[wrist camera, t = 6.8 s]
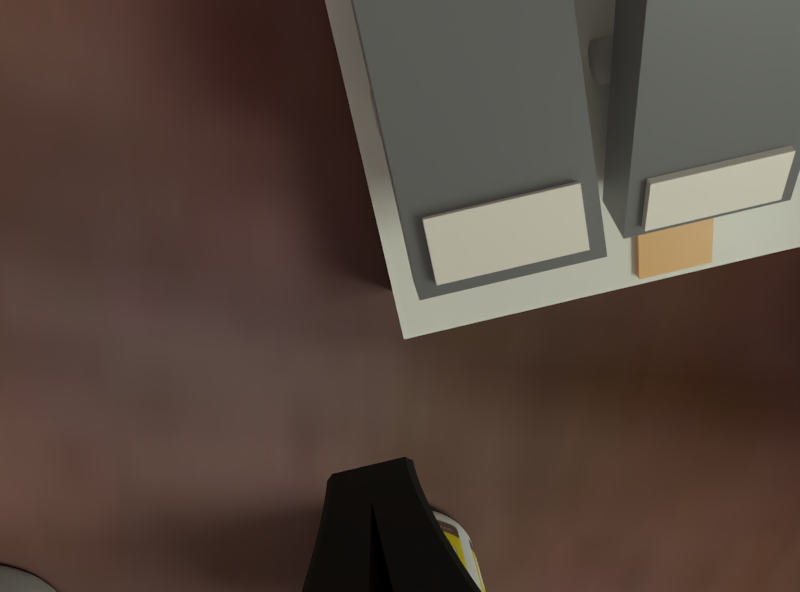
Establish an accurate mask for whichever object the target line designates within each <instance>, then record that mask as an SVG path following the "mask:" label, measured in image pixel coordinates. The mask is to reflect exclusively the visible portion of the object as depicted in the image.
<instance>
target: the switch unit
mask: <svg viewBox="0 0 800 592" xmlns="http://www.w3.org/2000/svg"><path fill="white" fill-rule="evenodd" d="M615 2H616V0H574V7H575V15H576V22H577V30H578V38H579V45H580V53H581V60H582V68H583V75H584V83H585V91H586V98H587V106H588V113H589V121H590V129H591V136H592V144H593V151H594V159H595V167H596V174H597V182H598V189H599V197H600V204H601V212H602V220H603V227H604V235H605V242H606V250H607V257H604V258H599V259H595V260H591V261H587V262H582V263H578V264H574V265H569V266H565V267H561V268H557V269H552V270H548V271H544V272H539V273H535V274H531V275H527V276H522V277H518V278H514V279H509V280H505V281H501V282H497V283H492V284H488V285H484V286H479V287H475V288H471V289H467V290H462V291H458V292H454V293H449V294H445V295H441V296H437V297H432V298H428V299H424V300H419V297H418V294H417V291H416V288H415V285H414V282H413V278H412V274H411V269H410V265H409V260H408V256H407V251H406V247H405V242H404V238H403V233H402V229H401V224H400V220H399V215H398V211H397V206H396V202H395V197H394V193H393V188H392V184H391V179H390V175H389V170H388V166H387V161H386V157H385V152H384V148H383V143H382V139H381V134H380V130H379V125H378V121H377V116H376V112H375V108H374V103H373V99H372V94H371V90H370V85H369V81H368V76H367V72H366V67H365V63H364V58H363V54H362V49H361V45H360V40H359V36H358V31H357V27H356V22H355V18H354V13H353V9H352V4H351V0H325V3H326V8H327V12H328V16H329V21H330V25H331V29H332V33H333V38H334V42H335V46H336V51H337V55H338V59H339V63H340V68H341V72H342V76H343V81H344V85H345V89H346V93H347V98H348V102H349V106H350V111H351V115H352V119H353V123H354V128H355V132H356V136H357V140H358V145H359V149H360V153H361V158H362V162H363V166H364V170H365V175H366V179H367V183H368V188H369V192H370V196H371V200H372V205H373V209H374V213H375V218H376V222H377V226H378V230H379V235H380V239H381V243H382V248H383V252H384V256H385V260H386V265H387V269H388V273H389V278H390V282H391V286H392V290H393V295H394V299H395V303H396V308H397V312H398V316H399V320H400V325H401V329H402V333H403V338H404V339H407V338H412V337H416V336H420V335H425V334H429V333H433V332H437V331H442V330H446V329H450V328H455V327H459V326H463V325H467V324H472V323H476V322H480V321H484V320H489V319H493V318H497V317H502V316H506V315H510V314H514V313H519V312H523V311H527V310H531V309H536V308H540V307H544V306H549V305H553V304H557V303H561V302H566V301H570V300H574V299H579V298H583V297H587V296H591V295H596V294H600V293H604V292H608V291H613V290H617V289H621V288H626V287H630V286H634V285H638V284H643V283H647V282H651V281H655V280H660V279H664V278H668V277H673V276H677V275H681V274H685V273H690V272H694V271H698V270H703V269H707V268H711V267H715V266H720V265H724V264H728V263H732V262H737V261H741V260H745V259H750V258H754V257H758V256H762V255H767V254H771V253H775V252H779V251H784V250H788V249H792V248H797V247H800V171H799V174H798V177H797V181H796V184H795V187H794V190H793V194H792V197H791V200H788V201H784V202H780V203H775V204H771V205H767V206H763V207H758V208H754V209H750V210H745V211H741V212H737V213H733V214H728V215H724V216H720V217H715V218H711V219H707V220H703V221H698V222H694V223H690V224H685V225H681V226H677V227H673V228H668V229H664V230H660V231H655V232H651V233H647V234H643V235H638V236H634V237H630V238H625V239H623V237H622V235H621V233H620V232H619V230H618V228H617V226H616V224H615V223H614V221H613V219H612V217H611V215H610V214H609V212H608V210H607V208H606V206H605V205H604V203H603V201H602V198H603V183H604V168H605V153H606V138H607V123H608V108H609V93H610V78H611V63H612V48H613V33H614V17H615Z"/></svg>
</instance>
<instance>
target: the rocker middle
mask: <svg viewBox="0 0 800 592" xmlns="http://www.w3.org/2000/svg"><path fill="white" fill-rule="evenodd" d="M799 171H800V0H616V2H615V17H614V33H613V48H612V63H611V78H610V93H609V108H608V123H607V138H606V153H605V168H604V183H603V198H602V201H603V203H604V205H605V206H606V208H607V210H608V212H609V214H610V215H611V217H612V219H613V221H614V223H615V224H616V226H617V228H618V230H619V232H620V233H621V235H622V237H623V239H625V238H630V237H634V236H638V235H643V234H647V233H651V232H655V231H660V230H664V229H668V228H673V227H677V226H681V225H685V224H690V223H694V222H698V221H703V220H707V219H711V218H715V217H720V216H724V215H728V214H733V213H737V212H741V211H745V210H750V209H754V208H758V207H763V206H767V205H771V204H775V203H780V202H784V201H788V200H791V197H792V194H793V190H794V187H795V184H796V181H797V177H798V174H799Z"/></svg>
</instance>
